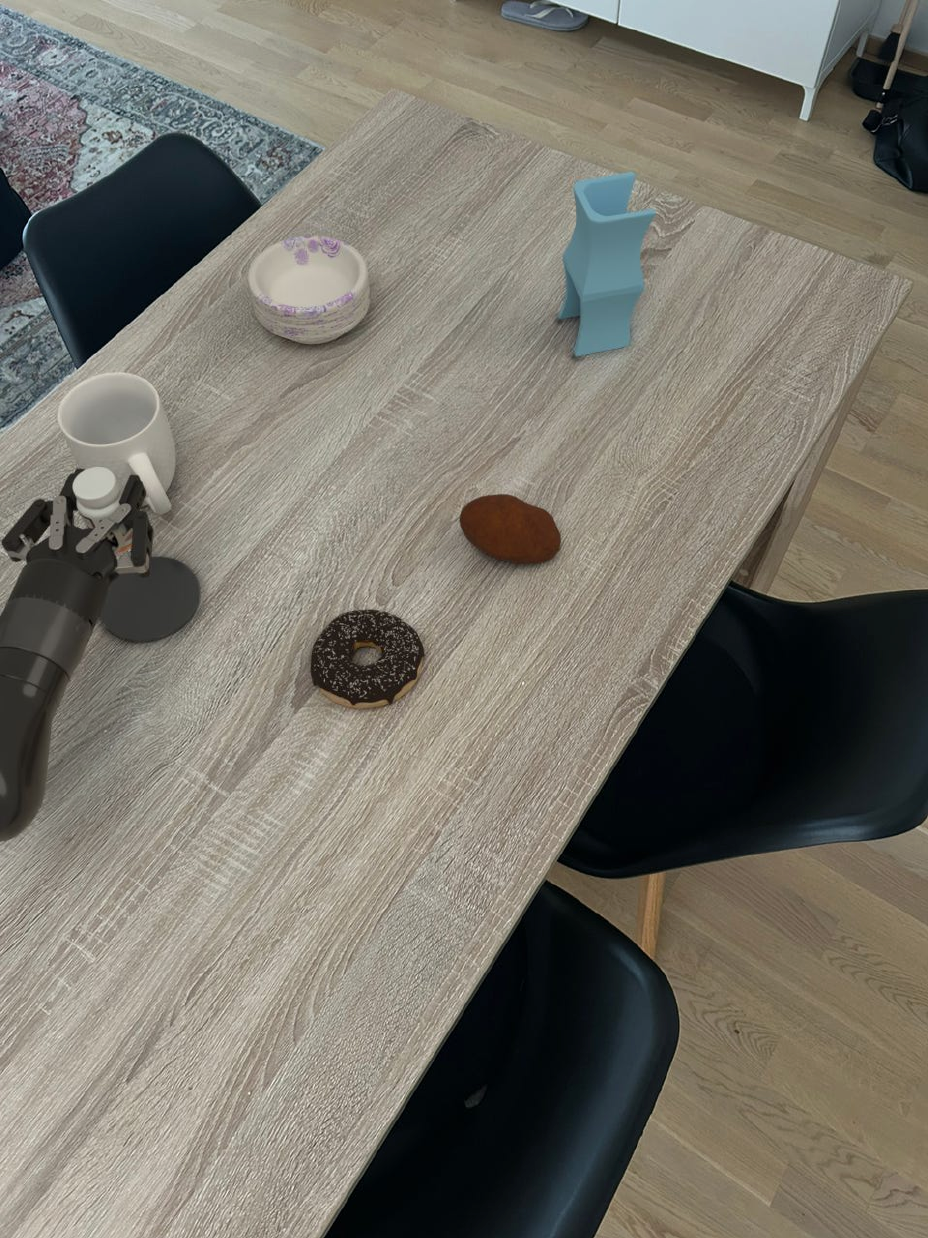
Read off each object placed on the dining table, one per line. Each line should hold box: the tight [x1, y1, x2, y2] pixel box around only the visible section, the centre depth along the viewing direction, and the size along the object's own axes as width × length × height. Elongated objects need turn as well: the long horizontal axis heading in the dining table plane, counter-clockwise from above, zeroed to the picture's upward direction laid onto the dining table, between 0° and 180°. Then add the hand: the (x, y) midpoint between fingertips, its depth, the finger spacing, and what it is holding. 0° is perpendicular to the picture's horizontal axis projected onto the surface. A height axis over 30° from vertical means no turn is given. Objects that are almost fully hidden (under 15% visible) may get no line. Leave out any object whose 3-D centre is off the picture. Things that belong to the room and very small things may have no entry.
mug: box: [56, 371, 177, 516], centre depth 116 cm, size 15×11×13 cm
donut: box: [310, 609, 426, 710], centre depth 108 cm, size 11×12×4 cm
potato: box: [458, 493, 562, 565], centre depth 114 cm, size 8×12×8 cm, turn 78°
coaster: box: [99, 556, 201, 643], centre depth 114 cm, size 11×11×1 cm
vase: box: [557, 171, 657, 357], centre depth 128 cm, size 8×8×20 cm
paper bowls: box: [247, 235, 371, 345], centre depth 134 cm, size 15×15×8 cm
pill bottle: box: [73, 467, 133, 556], centre depth 101 cm, size 5×5×8 cm
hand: (110, 477), depth 101 cm, fingers closed on pill bottle, 4 cm apart
